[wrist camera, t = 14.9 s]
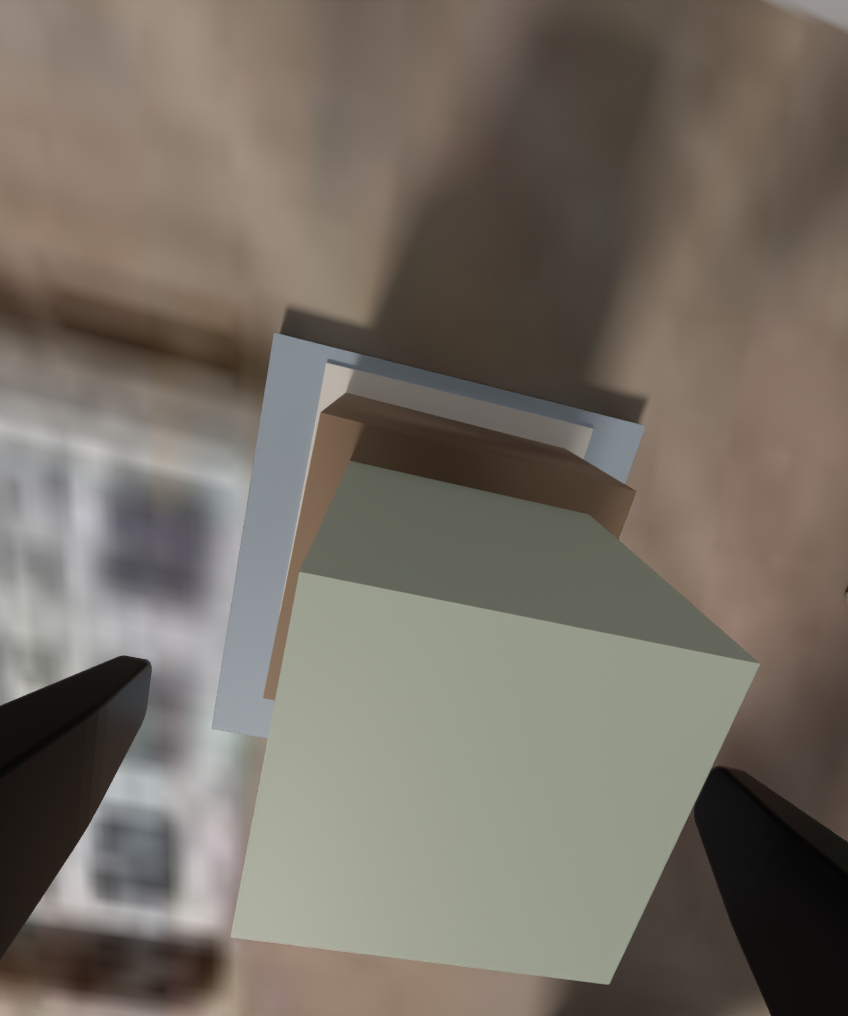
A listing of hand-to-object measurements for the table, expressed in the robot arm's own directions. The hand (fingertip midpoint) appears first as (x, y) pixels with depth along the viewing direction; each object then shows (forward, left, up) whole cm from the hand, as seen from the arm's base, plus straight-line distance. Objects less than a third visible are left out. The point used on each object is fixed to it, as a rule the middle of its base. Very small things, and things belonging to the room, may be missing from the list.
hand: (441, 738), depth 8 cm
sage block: (0, -1, -3) cm, 3 cm away
